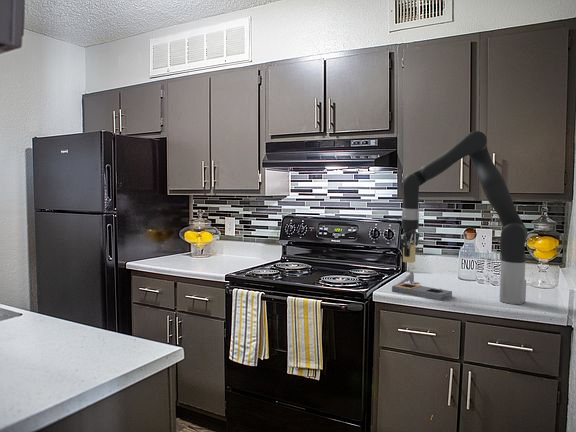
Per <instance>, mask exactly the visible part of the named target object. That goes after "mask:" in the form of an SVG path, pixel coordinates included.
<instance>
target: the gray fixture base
mask: <svg viewBox="0 0 576 432" xmlns="http://www.w3.org/2000/svg"><path fill="white" fill-rule="evenodd" d="M391 292H392V293H398V294H403V295H410V296H414V297H419V298H425V299H428V300H429V299H431V300H436V301H440V302H442V301H444V300H447V299H451V298H452V297H453V291H451V290H447V289H441V288H435V287H431V286H424V285H421V284H416V283H410V282H409V283H408V282H404V283H401V284H397V285H395V284H394V285H392V286H391Z"/></svg>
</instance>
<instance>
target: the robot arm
mask: <svg viewBox="0 0 576 432" xmlns="http://www.w3.org/2000/svg"><path fill="white" fill-rule="evenodd" d="M487 145H488V138H487V136H486V134H485V133H484V132H483V131H478V130H474V131H471V132H469V133H468V134H467V135H466V136H465V137H463V138H462V139H461V140H459V142H458V143H456V144H455V145H454V146H452V147H451V148H449V149H447V150H446V151H445V152H444V153H441V154H440V155H439V156H436V157H435V158H433V159H431V160H430V161H428V162H427V163H425V164H423V165H422V166H421V167H420V168H419V169H417V170H415V171H413V172H411V173H410V174H407V175H405V177H404V178H403V181H402V191H403V192H402V194H403V199H402V212H401V229H402V230H403V234H400V235H399V240H400V246H401V248H402V249H403V248H404V256H405V257H409V247H410V244H416V247H417V246H418V245H419V237H420V233H419V232H417V230H419V224H420V211H419V208H420V207H419V206H420V201H419V194H420V186H422V185H424V184H425V183H426V182H428V181H430V180H432V179H434V178H436V177H437V176H439V175H440V174H442V173H443V172H445V171H446V170H448V169H450V167H452V166H453V165H454V164H456V163H457V162H458V161H460V160H461V159H463V158H465V157H467V156H468V157H469V159H470V160H471V162H472V164H473V167H474V168H475V171H476V174H477V178H478V181H479V184H480V186H481V189H482V191H483V193H484V195H485V197H486V200H487V202H488V203H489V205H490V206H491V207H492V210H494V211H495V212H496V214H497V216H498V218H499V220H500V223H501V227H502V229H501V233H500V241H499V242H500V250H499V252H500V253H499V254H500V256H501V259H500V276H499V277H500V281H499V282H500V283H499V301H500V302H502V303H506V304H511V305H523V304H525V303H526V297H527V295H526V294H527V280H526V258H527V257H526V253H525V249H526V240H527V238H528V235H529V232H528V229H527V227H526V226H525V224H524V222H523V221H522V218H521V217H520V214H518V212H517V210H516V207H515V204H514V201H513V198H512V195H511V194H510V193H511V192H510V189H509V188H508V185H507V184H506V181H505V178H504V176H503V175H502V173H501V171H500V170H499V169H498V167H496V165H495V163H494V162H493V160H492V158H491V155H490V152H489V148H488V146H487ZM403 244H404V245H403ZM407 244H408V245H407Z"/></svg>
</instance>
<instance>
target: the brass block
mask: <svg viewBox="0 0 576 432" xmlns="http://www.w3.org/2000/svg"><path fill="white" fill-rule="evenodd" d="M403 245H404V243H403ZM407 245H408V243H407ZM416 247H417V246H416V244H410V247H409V257H405V256H404V248H403V247H402V262H403V263H409V264H412V263H416Z"/></svg>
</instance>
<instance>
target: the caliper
mask: <svg viewBox="0 0 576 432" xmlns="http://www.w3.org/2000/svg"><path fill="white" fill-rule="evenodd" d="M414 274H415V273H414V270H410V271H409V273H408V274H406V276H405V277H403V278H402V279H401V280H400V281H398V282H396V283H395V284H394V285H397V284H401V283H408V282H409V283H410V284H413V283H414V281H415V280H414V279H415V275H414Z"/></svg>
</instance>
